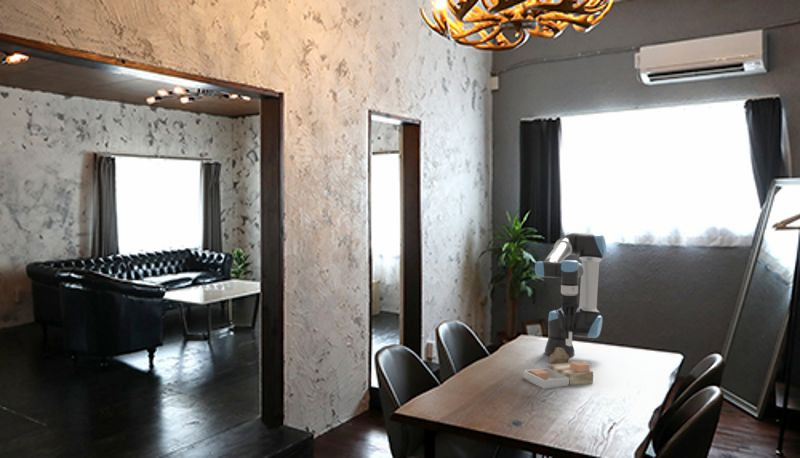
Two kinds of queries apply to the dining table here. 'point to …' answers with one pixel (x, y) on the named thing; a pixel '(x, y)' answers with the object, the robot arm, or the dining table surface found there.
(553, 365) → the board
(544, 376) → the tile
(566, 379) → the box
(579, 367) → the tile
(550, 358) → the rock
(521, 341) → the dining table surface
